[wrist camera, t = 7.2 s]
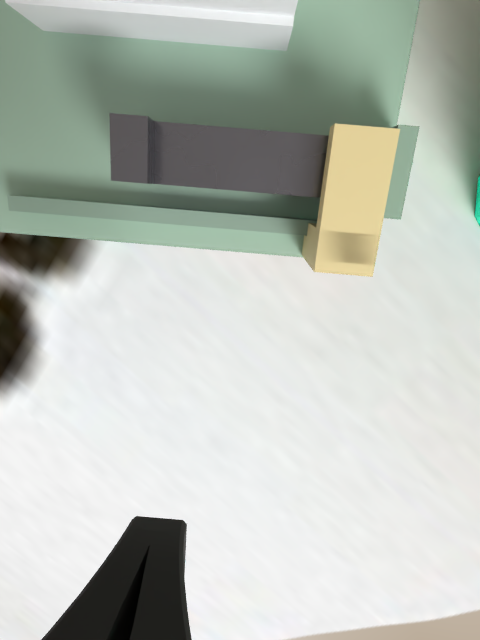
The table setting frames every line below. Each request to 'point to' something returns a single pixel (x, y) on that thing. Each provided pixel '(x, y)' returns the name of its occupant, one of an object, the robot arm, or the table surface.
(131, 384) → the table surface
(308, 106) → the board
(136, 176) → the bar
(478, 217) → the candle
